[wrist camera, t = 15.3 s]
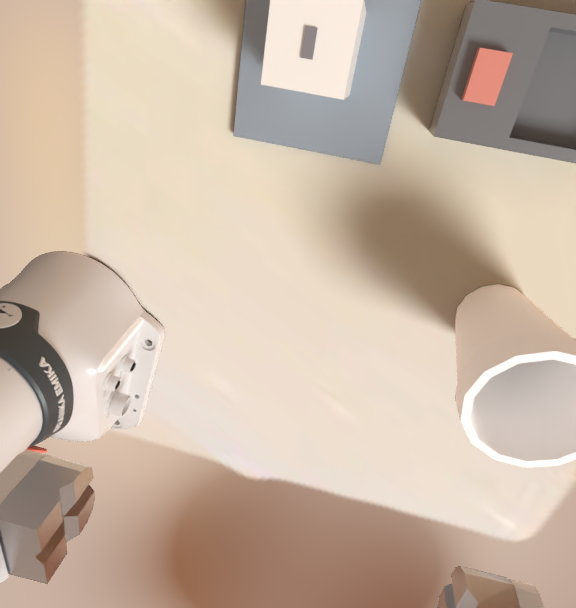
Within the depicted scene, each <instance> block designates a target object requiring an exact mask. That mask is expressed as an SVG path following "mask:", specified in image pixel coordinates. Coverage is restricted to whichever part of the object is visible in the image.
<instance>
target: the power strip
mask: <svg viewBox="0 0 576 608" xmlns="http://www.w3.org/2000/svg"><path fill="white" fill-rule="evenodd" d="M429 131H430V132H431V134H432V135H433V136H434V137H440V138H445V139H450V140H455V141H461V142H466V143H471V144H477V145H482V146H487V147H493V148H498V149H503V150H508V151H514V152H519V153H524V154H530V155H535V156H540V157H545V158H551V159H556V160H561V161H567V162H572V163H576V14H569V13H563V12H557V11H551V10H545V9H539V8H532V7H526V6H520V5H514V4H508V3H502V2H495V1H489V0H473V1H472V2H470V3H469V4H468V5H467V6H466V7H465V10H464V13H463V17H462V20H461V24H460V27H459V30H458V34H457V37H456V41H455V44H454V47H453V51H452V54H451V58H450V61H449V65H448V68H447V71H446V75H445V78H444V82H443V85H442V88H441V92H440V95H439V99H438V102H437V106H436V109H435V112H434V116H433V119H432V123H431V126H430V129H429Z"/></svg>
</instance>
